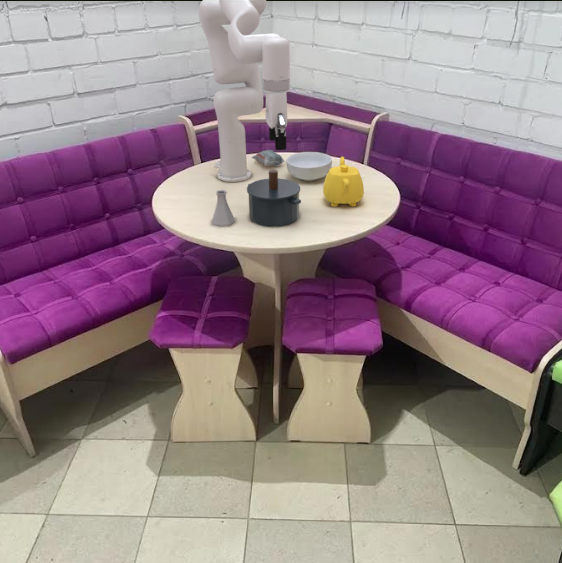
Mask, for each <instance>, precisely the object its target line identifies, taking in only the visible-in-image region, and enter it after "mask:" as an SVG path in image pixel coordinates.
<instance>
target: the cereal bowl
mask: <svg viewBox="0 0 562 563" xmlns="http://www.w3.org/2000/svg"><path fill="white" fill-rule="evenodd" d="M285 165H286V169H287V171H288V173H289V174H290V175H291V176H292V177H294V178H296V179H299V180H300V181H304V182H314V181H317V180H319V179H321V178H324V177H326V176H327V174H328V172H329V170H330V169H331V168H332V165H333V159H332V156H330V155H329V154H327V153H323V152H317V151H302V152H296V153H293V154H291V155H289V156H287V158H286V161H285Z"/></svg>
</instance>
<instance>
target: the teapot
mask: <svg viewBox="0 0 562 563" xmlns="http://www.w3.org/2000/svg"><path fill="white" fill-rule="evenodd" d="M322 193H323V196H324V197H325V200H326V201H327V202H329V203H330V206H331V207H339V204H343V205H344V204H345V205H346V204H348V205H349V207H357V203H358V202H359V203H360V201H361V200H362V199H363V197H364V194H365V187H364V181H363V178H362V176H361V173H360V171H359V169H358V168H357V167H355V166H349V165H348V164H346V161H345V157H344V156H340V157H339V166H333V167H332V166H331V169H330V170H329V172H328V174H327V175H325V179H324V181H323V187H322Z"/></svg>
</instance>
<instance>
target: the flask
mask: <svg viewBox="0 0 562 563" xmlns="http://www.w3.org/2000/svg"><path fill="white" fill-rule="evenodd" d="M215 194H216V196H217V200H216V206H215V210H214V213H213V216H212V220H211V221H212V222H211V223H212V224H211V225H215V226H219V227H226V226H230V225H232V224H233V223H235V216H234V215H233V213H232V210H231V208H230V206H229V203H228V200H227V196H226V195H227V190H224V189H218V190H216V192H215Z"/></svg>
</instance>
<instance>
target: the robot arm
mask: <svg viewBox="0 0 562 563" xmlns="http://www.w3.org/2000/svg"><path fill="white" fill-rule="evenodd" d="M266 5H267V0H202V1H200V2H199V6H198V17H199V23H200V26H201V30H202V31H203V34H204V35H205V38H206V41H207V44H208V49H209V55H210V61H211V67H212V74H213V77H214V81H215V82H216V83H217V84H218V85H233V84H234V85H235V84H241V83H243V84H244V85H245V86H239V87H236V86H235V87H229V88H223V89H220V90H217V91H216V93H215V94H214V95H213V107H214V111H215V115H216V119H217V130H218V142H219V143H218V145H219V158H220V159H219V160H216V161H215V163H214V166H213V167H214V168H215V169H218V171H217V178H218V180H220V181H223V182H227V183H229V182H230V183H235V182H236V183H237V182H244V181H247V180H249V179H250V178H251V177H252V172H251V170H250V169H248V163H247V162H248V161H247V141H246V140H247V139H246V129H245V126H244V124H243V123H242V122H241V121H240V120H239V117H243V116H249V115H256V114H259V113H261V112H262V111H263V109H264V94H263V92H264V93H265V122H266V124H267V125H268V134H269V138H268V139H269V141H274V149H275V151H285V150H287V133H286V132H287V131H286V128H287V126H288V102H287V101H288V98H287V97H288V96H287V93H289V92H291V91H290V90H291V67H290V66H291V65H290V62H291V58H290V57H291V54H290V52H291V50H290V47H291V46H290V41H289V39H287V38H286V37H282V36H281V35H280V34H278V33H273V32H271V33H257V34H252V33H253V32H255V31H256V29H257V28H258V26H259V25H260V21H261V20H260V19H261V18H260V16H261V15H263V13H264V12H265V9H266ZM228 25H229V27H228V30H227V29H226V28H225V27H224V26H228ZM259 64H262V80H261V70H260V66H259ZM262 85H263V87H262Z"/></svg>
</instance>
